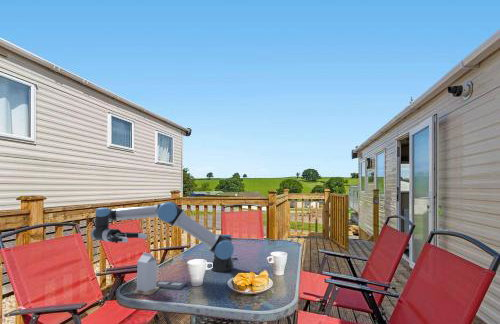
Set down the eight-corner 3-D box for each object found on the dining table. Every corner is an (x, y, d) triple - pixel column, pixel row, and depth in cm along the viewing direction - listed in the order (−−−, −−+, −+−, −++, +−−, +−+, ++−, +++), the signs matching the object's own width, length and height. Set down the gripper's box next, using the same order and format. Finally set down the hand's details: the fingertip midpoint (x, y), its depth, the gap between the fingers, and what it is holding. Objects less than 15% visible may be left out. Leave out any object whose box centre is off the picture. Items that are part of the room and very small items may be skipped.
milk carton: (145, 292, 161) (146, 255, 162) (136, 290, 164) (137, 253, 166) (156, 288, 167) (157, 252, 168) (147, 286, 170) (148, 251, 172)
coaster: (159, 288, 170) (159, 286, 170) (150, 294, 160) (150, 293, 160) (142, 287, 171) (142, 285, 171) (132, 293, 161) (132, 291, 161)
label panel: (186, 284, 177) (186, 281, 177) (180, 289, 168) (180, 286, 168) (160, 282, 180) (160, 280, 180) (152, 287, 171) (153, 285, 171)
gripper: (129, 238, 194) (153, 241, 184) (92, 245, 173) (117, 249, 162) (129, 226, 195) (154, 228, 185) (92, 231, 173) (118, 234, 163)
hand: (137, 238), depth 174 cm, fingers open, 13 cm apart
